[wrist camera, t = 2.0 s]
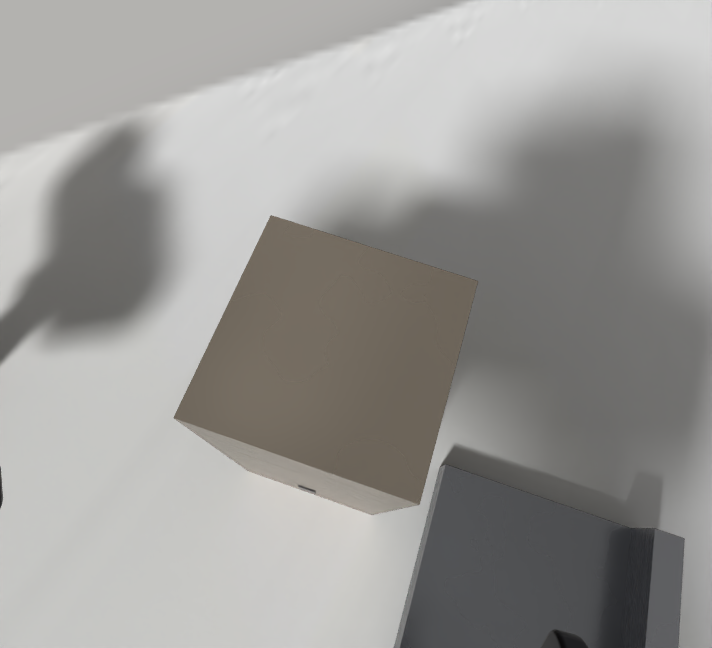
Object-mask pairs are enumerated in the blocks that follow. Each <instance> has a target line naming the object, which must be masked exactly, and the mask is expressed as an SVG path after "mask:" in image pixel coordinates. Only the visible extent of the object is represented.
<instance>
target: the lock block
mask: <svg viewBox="0 0 712 648" xmlns="http://www.w3.org/2000/svg"><path fill="white" fill-rule="evenodd" d="M477 284H478V281H476V280H473V279H470V278H467V277H464V276H461V275H457V274H454V273H451V272H448V271H445V270H442V269H439V268H435V267H432V266H429V265H426V264H423V263H420V262H416V261H413V260H410V259H407V258H404V257H401V256H398V255H394V254H391V253H388V252H385V251H382V250H379V249H376V248H372V247H369V246H366V245H363V244H360V243H357V242H354V241H350V240H347V239H344V238H341V237H338V236H335V235H332V234H328V233H325V232H322V231H319V230H316V229H313V228H310V227H306V226H303V225H300V224H297V223H294V222H291V221H288V220H284V219H281V218H278V217H275V216H272V215H271V216H270V218H269V220H268V222H267V224H266V226H265V229H264V231H263V233H262V235H261V237H260V239H259V241H258V243H257V245H256V247H255V249H254V251H253V254H252V256H251V258H250V260H249V262H248V264H247V266H246V268H245V270H244V272H243V274H242V276H241V278H240V281H239V283H238V285H237V287H236V289H235V291H234V293H233V295H232V297H231V299H230V301H229V303H228V306H227V308H226V310H225V312H224V314H223V316H222V318H221V320H220V322H219V324H218V326H217V328H216V330H215V333H214V335H213V337H212V339H211V341H210V343H209V345H208V347H207V349H206V351H205V353H204V355H203V357H202V360H201V362H200V364H199V366H198V368H197V370H196V372H195V374H194V376H193V378H192V380H191V382H190V385H189V387H188V389H187V391H186V393H185V395H184V397H183V399H182V401H181V403H180V405H179V407H178V409H177V412H176V414H175V416H174V419H176V420H177V421H178V422H180V423H181V424H183V425H184V426H185V427H187V428H188V429H190V430H191V431H192V432H194V433H195V434H197V435H198V436H199V437H201V438H202V439H204V440H205V441H206V442H208V443H209V444H211V445H212V446H213V447H215V448H216V449H218V450H219V451H220V452H222V453H223V454H225V455H226V456H227V457H229V458H230V459H232V460H233V461H234V462H236V463H237V464H239V465H240V466H242V467H243V468H244V469H246V470H247V471H250V472H252V473H255V474H258V475H261V476H264V477H266V478H269V479H272V480H275V481H278V482H280V483H283V484H286V485H289V486H292V487H294V488H297V489H300V490H303V491H306V492H308V493H311V494H314V495H317V496H320V497H323V498H325V499H328V500H331V501H334V502H337V503H339V504H342V505H345V506H348V507H351V508H353V509H356V510H359V511H362V512H365V513H367V514H370V515H374V514H379V513H384V512H388V511H393V510H397V509H402V508H406V507H411V506H416V505H419V504H420V501H421V497H422V493H423V489H424V485H425V482H426V478H427V474H428V470H429V466H430V463H431V459H432V455H433V451H434V447H435V444H436V440H437V436H438V432H439V428H440V424H441V421H442V417H443V413H444V409H445V405H446V402H447V398H448V394H449V390H450V386H451V383H452V379H453V375H454V371H455V367H456V364H457V360H458V356H459V352H460V348H461V345H462V341H463V337H464V333H465V329H466V325H467V322H468V318H469V314H470V310H471V306H472V303H473V299H474V295H475V291H476V287H477Z"/></svg>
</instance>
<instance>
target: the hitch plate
mask: <svg viewBox="0 0 712 648" xmlns="http://www.w3.org/2000/svg"><path fill="white" fill-rule="evenodd" d="M684 540H685V539H684V538H681V537H679V536H676V535H673V534H670V533H667V532H664V531H661V530H658V529H655V528H629V527H626V526H623V525H620V524H617V523H614V522H612V521H609V520H606V519H603V518H600V517H597V516H594V515H591V514H588V513H585V512H583V511H580V510H577V509H574V508H571V507H568V506H565V505H562V504H559V503H556V502H554V501H551V500H548V499H545V498H542V497H539V496H536V495H533V494H530V493H528V492H525V491H522V490H519V489H516V488H513V487H510V486H507V485H504V484H501V483H499V482H496V481H493V480H490V479H487V478H484V477H481V476H478V475H475V474H472V473H470V472H467V471H464V470H461V469H458V468H455V467H452V466H449V465H446V464H445V465H443V466H441V467H440V469H439V473H438V476H437V480H436V484H435V488H434V492H433V496H432V500H431V504H430V508H429V512H428V516H427V520H426V524H425V528H424V532H423V535H422V539H421V543H420V547H419V551H418V555H417V559H416V563H415V567H414V571H413V575H412V579H411V583H410V587H409V591H408V595H407V598H406V602H405V606H404V610H403V614H402V618H401V622H400V626H399V630H398V634H397V638H396V642H395V646H394V648H540V647H541V645H542V644H543V642H544V640H545V639H546V637H547V635H548V634H549V632H550V631H552V630H554V629H558V630H561V631H565V632H568V633H571V634H575V635H577V636H579V637H581V638H582V639H583V640H584V641H585V643H586V644H587V645H588V647H589V648H678V641H679V624H680V607H681V590H682V573H683V557H684Z"/></svg>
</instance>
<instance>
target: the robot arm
mask: <svg viewBox="0 0 712 648" xmlns="http://www.w3.org/2000/svg"><path fill="white" fill-rule="evenodd" d="M2 501H3V492H2V478H1V467H0V508H1V505H2ZM540 648H589V647H588V645H587V644H586V643H585V641H584V640H583V639H582V638H581V637H579V636H577V635H575V634H571V633H568V632H565V631H561V630H558V629H554V630H552V631H550V632H549V634H548V635H547V637H546V639H545V640H544V642H543V644H542V645H541V647H540Z"/></svg>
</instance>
